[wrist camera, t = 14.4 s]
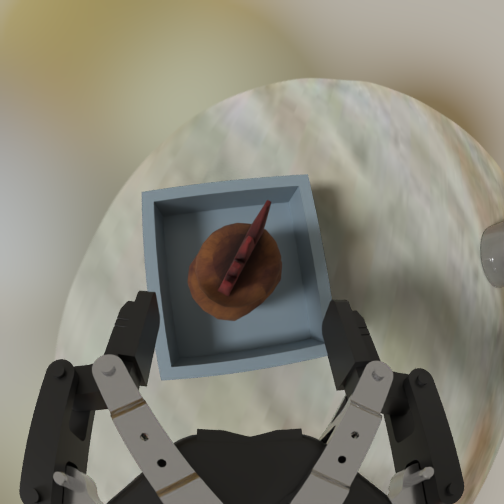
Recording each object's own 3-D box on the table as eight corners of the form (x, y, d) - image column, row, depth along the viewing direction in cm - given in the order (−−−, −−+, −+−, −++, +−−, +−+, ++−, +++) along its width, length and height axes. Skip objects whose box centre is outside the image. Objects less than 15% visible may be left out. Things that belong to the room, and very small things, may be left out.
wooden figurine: (239, 231, 26) (261, 142, 12) (282, 279, 26) (355, 244, 11) (182, 279, 25) (129, 243, 10) (224, 329, 24) (228, 363, 10)
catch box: (294, 195, 29) (307, 174, 24) (319, 345, 26) (339, 352, 21) (154, 211, 27) (141, 192, 22) (172, 367, 24) (161, 380, 19)
